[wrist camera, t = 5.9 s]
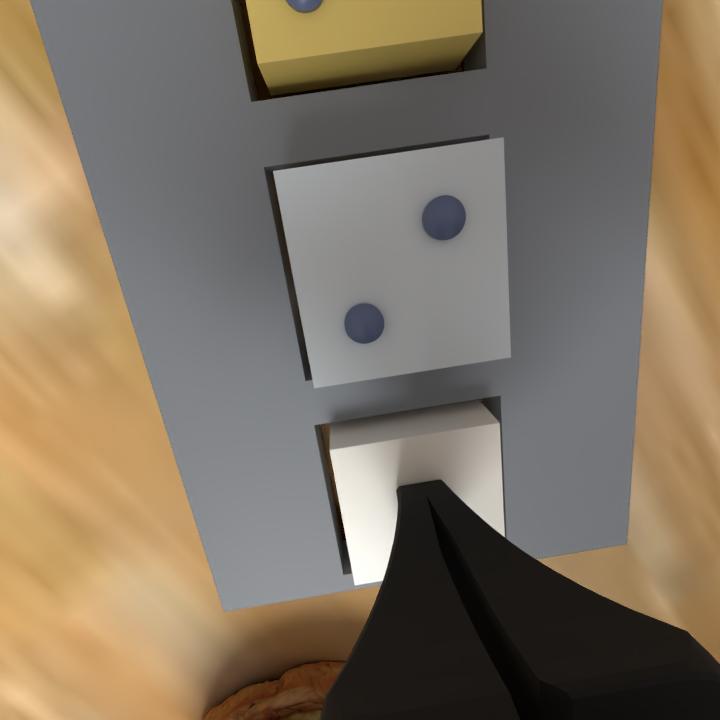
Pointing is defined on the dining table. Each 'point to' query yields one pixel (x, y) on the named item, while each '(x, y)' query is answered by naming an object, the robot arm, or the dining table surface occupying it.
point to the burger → (282, 696)
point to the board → (274, 279)
